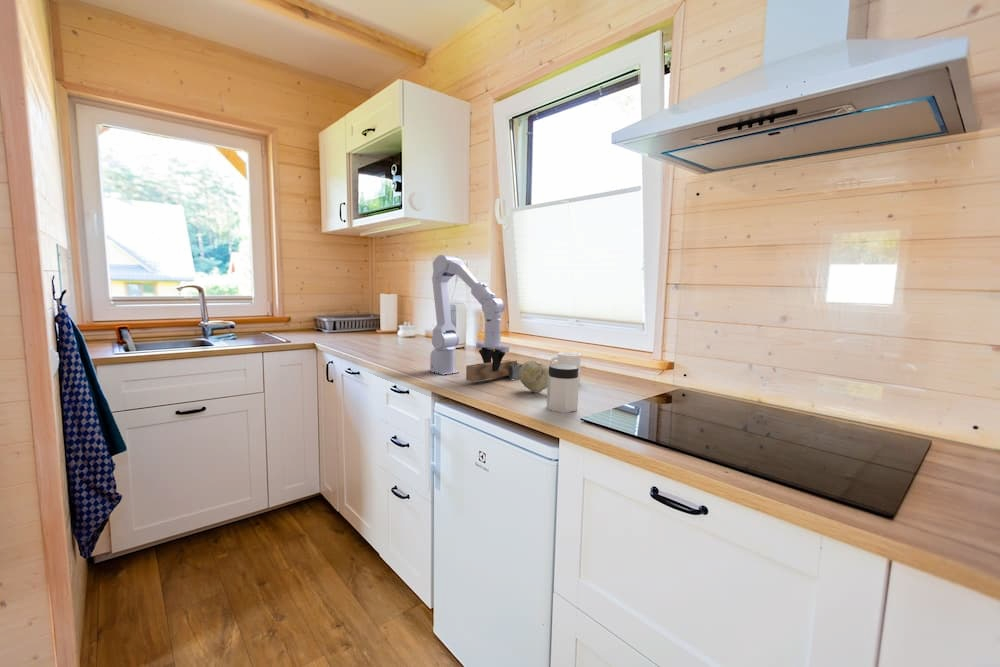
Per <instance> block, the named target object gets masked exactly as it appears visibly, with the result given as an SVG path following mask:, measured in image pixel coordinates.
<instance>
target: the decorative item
mask: <svg viewBox="0 0 1000 667" xmlns="http://www.w3.org/2000/svg"><path fill="white" fill-rule="evenodd" d="M522 364H523V365H522V366H521V368H520V370H519V379H518V380H520V382H521V384H522V385H523V386H524V387H525V388H526V389H528V390H529V391H531V392H532V393H534V394H539V393H541V392H542V391H544V390H545V389H547V388H548V374H549V366H550V364H545V363H542V362H538V361H536V360H528V361H526V362H523V363H522Z"/></svg>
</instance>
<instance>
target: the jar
mask: <svg viewBox="0 0 1000 667" xmlns="http://www.w3.org/2000/svg"><path fill="white" fill-rule="evenodd" d="M579 384H580V381H579V378H578V367H577V366H573V365H567V364H557V363H555V364H554V363H553V365H550V364H549V374H548V387H547V388H546V389H547V391H546V392H547V395H546V407H547V409H548V410H549V411H550V410H552V411H551V412H555V411H558V412H557V413H561V412H564V413H563V414H566V412H568V413H573V412H572V411H574V412H577V411H578V403H579V402H578V401H579V386H580V385H579Z"/></svg>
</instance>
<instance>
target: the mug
mask: <svg viewBox="0 0 1000 667" xmlns="http://www.w3.org/2000/svg"><path fill="white" fill-rule="evenodd" d="M581 358H582V354H581V353H578V352H572V351H561V352H560V351H559V352H557V355H554V356H553V357H552V358H551V359H550V361H549V366H550V365H553V364H554V362H555V361H556V364H567V365H573V366H577V367H578V378H579V382H580V378H581V361H582V360H581Z"/></svg>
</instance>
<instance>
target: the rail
mask: <svg viewBox="0 0 1000 667" xmlns="http://www.w3.org/2000/svg"><path fill="white" fill-rule="evenodd" d="M517 363H518V360H516V359H511V358H509V359H504V360H503V359H502V360H501V363H500V366H499V370H498V371H493V362H492V361H491V362H488V363H484V362H482V363H475V364H469V365H466V367H465V368H466V369H465V370H466V371H465V372H466V373H465V374H466V375H465V376H466V377H465V380H466V381H468V382H472V383H473V382H474V383H475V382H481V381H485V380H490V379H496V378H500V377H501V378H502V377H506V376H509V373H510V366H512V365H517Z"/></svg>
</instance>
